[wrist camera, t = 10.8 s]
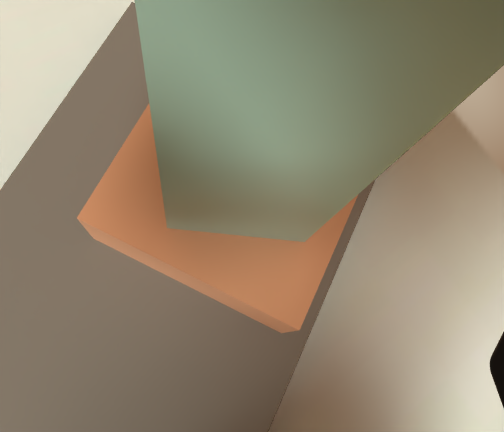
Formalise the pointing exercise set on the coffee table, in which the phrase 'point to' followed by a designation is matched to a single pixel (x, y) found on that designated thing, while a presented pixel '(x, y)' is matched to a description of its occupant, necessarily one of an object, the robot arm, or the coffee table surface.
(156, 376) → the baseplate
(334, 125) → the tall brick
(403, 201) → the coffee table surface
